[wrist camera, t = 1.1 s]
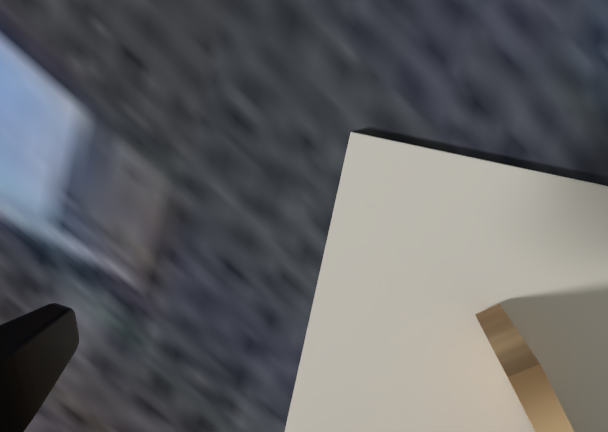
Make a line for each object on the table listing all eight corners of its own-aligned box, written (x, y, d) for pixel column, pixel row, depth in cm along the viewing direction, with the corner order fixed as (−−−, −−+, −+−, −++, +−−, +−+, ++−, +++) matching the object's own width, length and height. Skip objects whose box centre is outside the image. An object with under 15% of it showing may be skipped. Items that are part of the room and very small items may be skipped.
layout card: (774, 674, 23) (786, 691, 23) (261, 536, 25) (258, 548, 24) (978, 264, 19) (999, 270, 19) (351, 131, 21) (350, 132, 20)
